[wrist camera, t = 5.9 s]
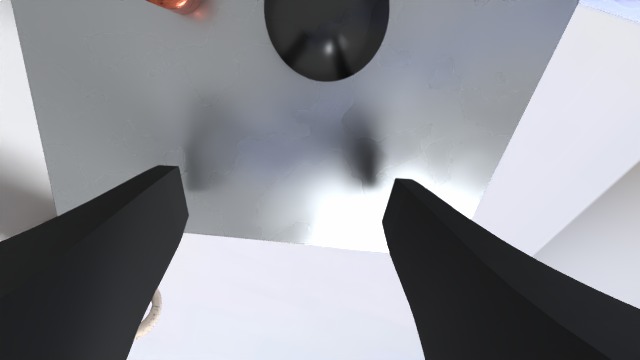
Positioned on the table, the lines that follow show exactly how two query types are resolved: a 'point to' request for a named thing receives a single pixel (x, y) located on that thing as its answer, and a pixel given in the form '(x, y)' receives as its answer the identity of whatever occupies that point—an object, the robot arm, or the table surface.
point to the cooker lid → (284, 103)
